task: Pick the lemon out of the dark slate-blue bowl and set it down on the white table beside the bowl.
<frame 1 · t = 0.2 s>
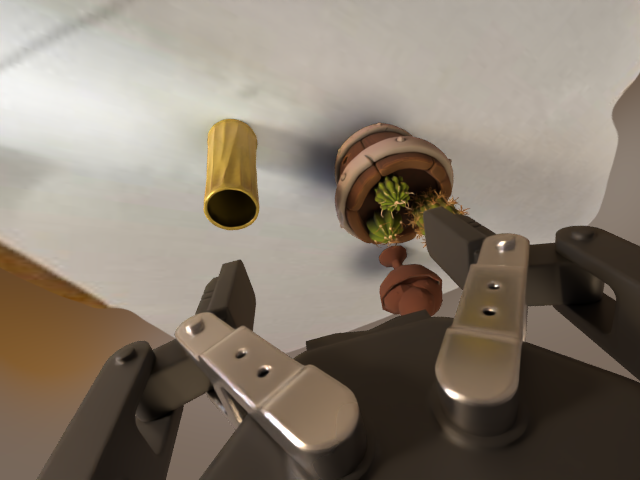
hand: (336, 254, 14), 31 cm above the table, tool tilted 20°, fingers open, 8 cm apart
vase: (233, 141, 42), on the table
flowerpot: (371, 157, 48), on the table
ice cream bowl: (392, 255, 63), on the table
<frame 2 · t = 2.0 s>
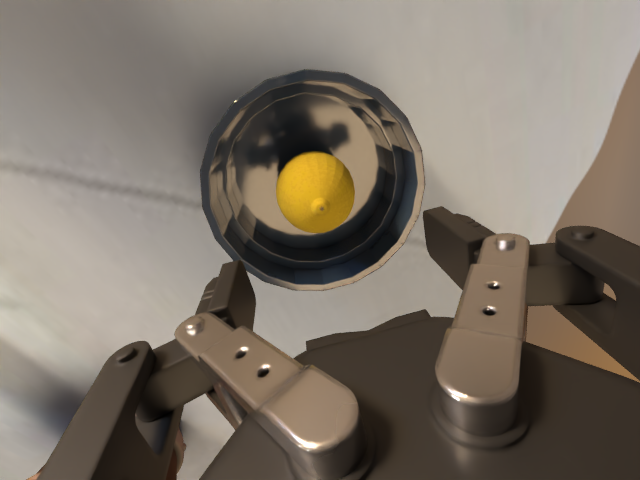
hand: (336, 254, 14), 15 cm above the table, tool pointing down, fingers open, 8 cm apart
lemon: (310, 178, 27), resting on bowl
flowerpot: (134, 430, 37), on the table
bowl: (309, 177, 28), on the table
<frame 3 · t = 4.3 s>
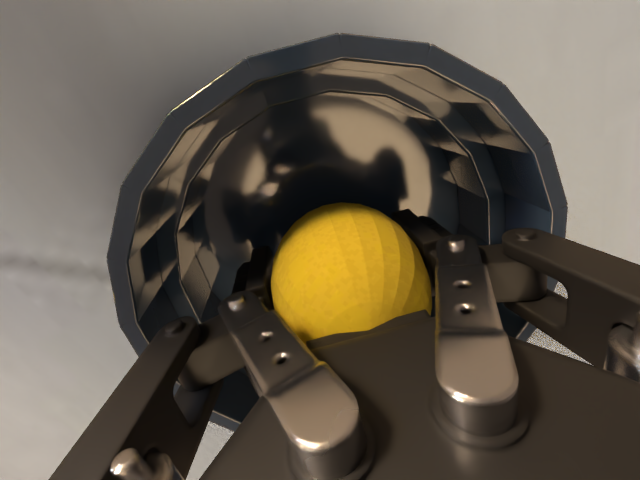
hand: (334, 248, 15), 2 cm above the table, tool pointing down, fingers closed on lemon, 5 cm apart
lemon: (330, 236, 16), resting on bowl, touching gripper
bowl: (329, 234, 16), on the table
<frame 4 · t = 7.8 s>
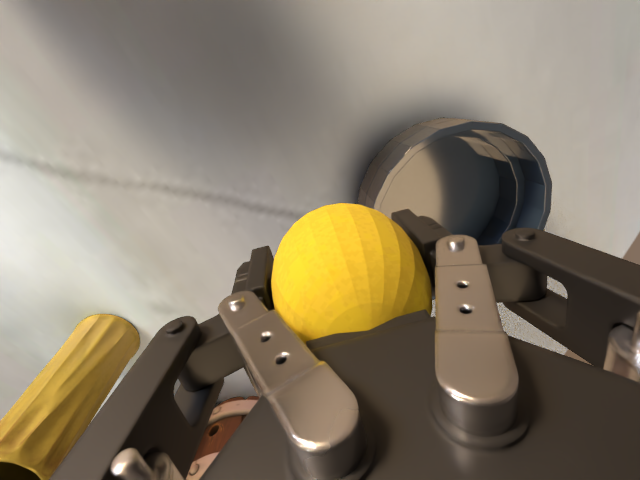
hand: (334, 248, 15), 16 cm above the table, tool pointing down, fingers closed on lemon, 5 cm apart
vase: (110, 336, 34), on the table
lemon: (330, 237, 16), point 15 cm above the table, touching gripper
flowerpot: (247, 422, 41), on the table
bowl: (433, 201, 32), on the table
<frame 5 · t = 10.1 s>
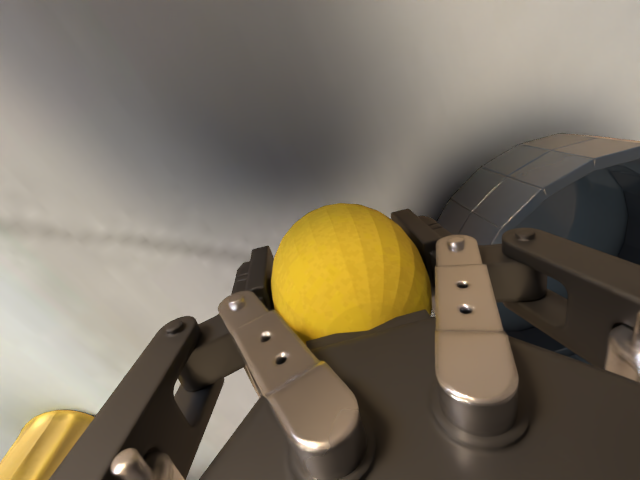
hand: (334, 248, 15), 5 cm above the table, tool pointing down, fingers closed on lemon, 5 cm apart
vase: (73, 435, 25), on the table
lemon: (330, 237, 16), point 4 cm above the table, touching gripper
bowl: (529, 250, 22), on the table
when the fingers open (1 cm above the table, at t = 11.7 s): lemon stays where it is, on the table.
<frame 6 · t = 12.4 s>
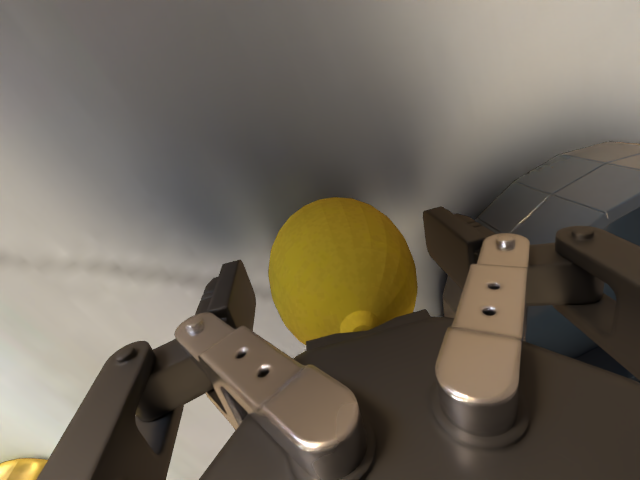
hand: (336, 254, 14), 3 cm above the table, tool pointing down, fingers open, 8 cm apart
lemon: (325, 231, 17), on the table
bowl: (564, 275, 19), on the table
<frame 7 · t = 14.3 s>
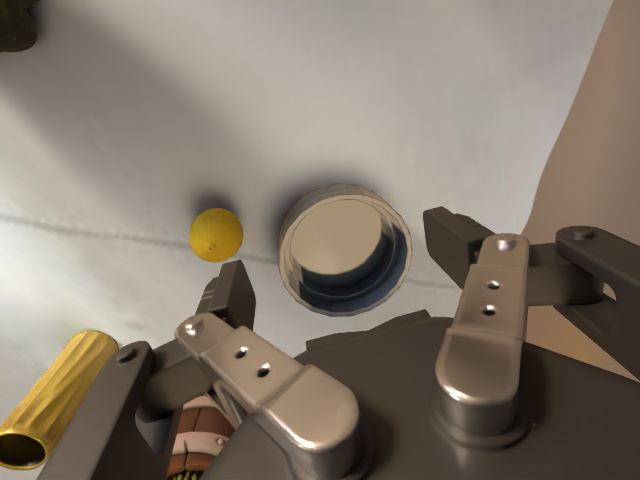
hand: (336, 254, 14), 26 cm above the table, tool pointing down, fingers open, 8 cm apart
vase: (95, 348, 44), on the table
lemon: (222, 222, 40), on the table
flowerpot: (208, 415, 51), on the table
bowl: (338, 241, 42), on the table
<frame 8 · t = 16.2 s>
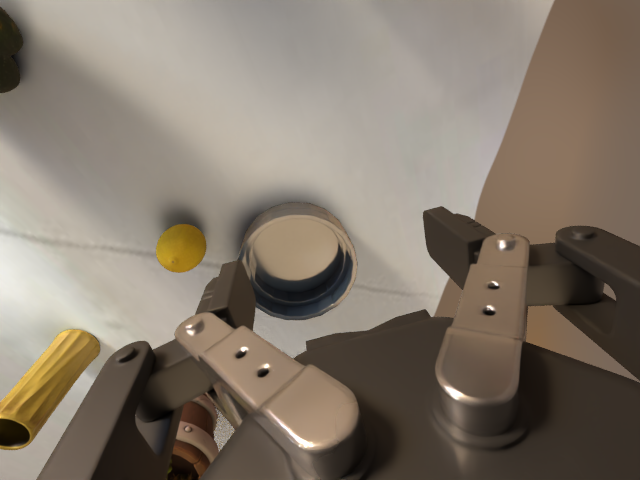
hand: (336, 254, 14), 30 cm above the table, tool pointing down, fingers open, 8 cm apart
vase: (79, 344, 49), on the table
lemon: (190, 234, 45), on the table
flowerpot: (183, 406, 56), on the table
bowl: (296, 252, 47), on the table
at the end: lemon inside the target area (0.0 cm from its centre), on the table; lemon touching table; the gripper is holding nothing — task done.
